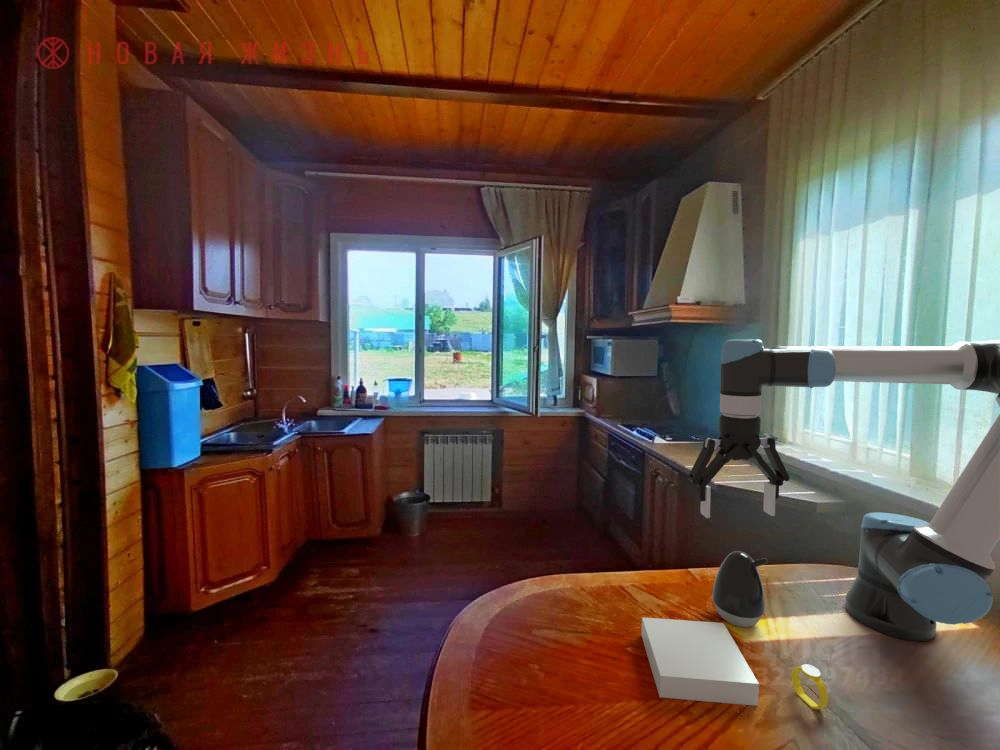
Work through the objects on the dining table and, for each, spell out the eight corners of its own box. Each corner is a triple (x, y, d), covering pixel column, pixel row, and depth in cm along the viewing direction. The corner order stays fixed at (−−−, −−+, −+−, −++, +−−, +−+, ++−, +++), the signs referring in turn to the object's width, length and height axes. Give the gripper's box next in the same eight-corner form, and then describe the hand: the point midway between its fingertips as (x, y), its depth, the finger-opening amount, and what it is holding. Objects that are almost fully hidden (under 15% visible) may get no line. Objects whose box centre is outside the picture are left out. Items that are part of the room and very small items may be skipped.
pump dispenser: (772, 637, 94) (777, 567, 93) (718, 630, 96) (721, 561, 95) (755, 608, 104) (759, 544, 103) (706, 602, 106) (709, 539, 105)
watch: (829, 715, 76) (835, 684, 75) (815, 718, 75) (820, 686, 74) (799, 685, 81) (803, 656, 80) (786, 687, 81) (790, 658, 80)
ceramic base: (722, 641, 93) (723, 623, 92) (757, 705, 77) (759, 683, 77) (641, 635, 95) (642, 617, 94) (659, 697, 79) (660, 675, 78)
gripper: (787, 409, 98) (784, 505, 100) (672, 413, 98) (671, 509, 100) (812, 416, 91) (807, 519, 93) (687, 419, 90) (686, 523, 92)
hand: (737, 514), depth 96 cm, fingers open, 13 cm apart
